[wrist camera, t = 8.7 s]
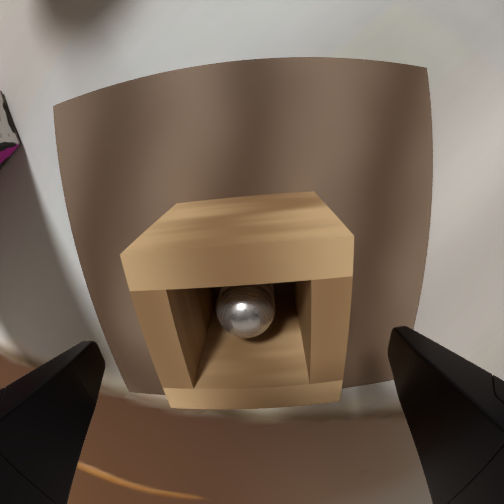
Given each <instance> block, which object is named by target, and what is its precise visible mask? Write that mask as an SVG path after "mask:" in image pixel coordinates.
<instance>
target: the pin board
mask: <svg viewBox="0 0 504 504" xmlns="http://www.w3.org/2000/svg"><path fill="white" fill-rule="evenodd" d="M53 110H54V124H55V135H56V144H57V152H58V160H59V167H60V173H61V180H62V186H63V191H64V197H65V202H66V207H67V212H68V216H69V221H70V225H71V230H72V234H73V238H74V242H75V246H76V250H77V253H78V257H79V261H80V264H81V268H82V271H83V274H84V278H85V281H86V284H87V287H88V290H89V293H90V297H91V300H92V302H93V305H94V308H95V311H96V314H97V317H98V319H99V322H100V325H101V327H102V330H103V333H104V335H105V338H106V340H107V343H108V345H109V348H110V350H111V353H112V355H113V357H114V360H115V362H116V364H117V367H118V369H119V371H120V373H121V375H122V378H123V380H124V382H125V384H126V386H127V388H128V390H129V392H135V393H146V394H159V395H165V392H164V390H163V387H162V385H161V382H160V380H159V377H158V374H157V372H156V369H155V366H154V364H153V361H152V358H151V356H150V353H149V350H148V347H147V344H146V341H145V338H144V336H143V333H142V330H141V326H140V323H139V320H138V317H137V314H136V311H135V307H134V304H133V301H132V297H131V294H130V290H129V287H128V283H127V280H126V276H125V272H124V268H123V265H122V261H121V257H120V254H121V253H122V252H123V251H124V250H125V249H126V248H127V247H128V246H129V245H130V244H132V243H133V242H134V241H135V240H136V239H137V238H138V237H139V236H140V235H141V234H142V233H144V232H145V231H146V230H147V229H148V228H149V227H150V226H151V225H152V224H154V223H155V222H156V221H157V220H158V219H159V218H160V217H162V216H163V215H164V214H165V213H166V212H167V211H168V210H170V209H171V208H172V207H173V206H174V205H175V204H177V203H185V202H194V201H203V200H213V199H223V198H233V197H244V196H256V195H268V194H282V193H296V192H312V191H314V192H315V193H316V194H317V195H318V196H319V197H320V198H321V200H322V201H323V202H324V203H325V204H326V205H327V206H328V207H329V208H330V209H331V210H332V211H333V213H334V214H335V215H336V216H337V217H338V218H339V219H340V220H341V221H342V223H343V224H344V225H345V226H346V227H347V228H348V229H349V230H350V232H351V233H352V234H353V235H354V259H353V280H352V297H351V310H350V322H349V333H348V342H347V351H346V360H345V368H344V376H343V383H342V388H347V387H354V386H361V385H367V384H373V383H378V382H384V381H389V380H394V378H393V374H392V370H391V366H390V362H389V359H388V345H389V340H390V335H391V331H392V329H393V328H394V327H399V326H407V327H409V328H411V329H413V328H414V324H415V319H416V315H417V310H418V305H419V300H420V294H421V289H422V283H423V277H424V270H425V263H426V256H427V248H428V239H429V229H430V217H431V203H432V180H433V139H432V117H431V103H430V92H429V82H428V74H427V68H424V67H419V66H413V65H406V64H399V63H392V62H384V61H374V60H363V59H349V58H325V57H291V58H267V59H253V60H242V61H232V62H223V63H216V64H208V65H202V66H195V67H190V68H184V69H178V70H173V71H168V72H164V73H159V74H154V75H150V76H146V77H142V78H138V79H134V80H130V81H126V82H123V83H119V84H116V85H112V86H109V87H106V88H102V89H99V90H96V91H93V92H90V93H87V94H84V95H81V96H78V97H76V98H73V99H70V100H67V101H65V102H62V103H60V104H57V105H55V106H53ZM214 293H215V299H218V300H217V305H216V313H217V318H218V320H219V322H220V324H221V326H222V327H223V328H224V329H225V330H226V331H227V332H228V333H230V334H231V335H233V336H236V337H239V338H252V337H255V336H258V335H260V334H262V333H263V332H264V331H265V330H267V328H268V327H269V326H270V324H271V323H272V321H273V318H274V314H275V301H274V296H278V295H290V294H294V291H293V282H281V283H268V284H254V285H239V286H224V287H214Z"/></svg>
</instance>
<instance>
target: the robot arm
mask: <svg viewBox="0 0 504 504" xmlns="http://www.w3.org/2000/svg"><path fill="white" fill-rule="evenodd" d="M388 359H389V362H390V366H391V370H392V374H393V378H394V382H395V386H396V390H397V393H398V397H399V400H400V403H401V406H402V409H403V411H404V414H405V417H406V420H407V422H408V425H409V428H410V431H411V434H412V437H413V440H414V443H415V446H416V448H417V452H418V455H419V458H420V461H421V464H422V468H423V471H424V474H425V477H426V480H427V484H428V488H429V491H430V495H431V498H432V502H433V504H504V381H503V380H501V379H500V378H498V377H496V376H494V375H493V376H492V374H491V373H489V372H487V371H485V370H484V369H482V368H480V367H478V366H477V365H475V364H473V363H471V362H470V361H468V360H466V359H464V358H463V357H461V356H459V355H457V354H455V353H454V352H452V351H450V350H448V349H447V348H445V347H443V346H441V345H439V344H438V343H436V342H434V341H432V340H431V339H429V338H427V337H425V336H423V335H422V334H420V333H418V332H416V331H414V330H413V329H411V328H409V327H407V326H399V327H394V328H393V329H392V331H391V335H390V340H389V345H388ZM104 370H105V361H104V358H103V356H102V354H101V352H100V349H99V347H98V345H97V343H96V342H94V341H83V342H81V343H79V344H78V345H76V346H74V347H72V348H71V349H69V350H67V351H66V352H64V353H62V354H60V355H59V356H57V357H55V358H54V359H52V360H50V361H48V362H47V363H45V364H43V365H42V366H40V367H38V368H36V369H35V370H33V371H31V372H30V373H28V374H26V375H25V376H23V377H21V378H20V379H18V380H16V381H14V382H13V383H11V384H9V385H8V386H6V388H2V389H1V390H0V504H67V501H68V497H69V493H70V489H71V485H72V482H73V478H74V474H75V471H76V467H77V464H78V460H79V457H80V453H81V450H82V447H83V443H84V440H85V437H86V434H87V431H88V428H89V424H90V422H91V419H92V416H93V413H94V409H95V406H96V403H97V399H98V394H99V390H100V386H101V382H102V378H103V374H104Z"/></svg>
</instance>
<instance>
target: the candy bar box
mask: <svg viewBox="0 0 504 504" xmlns="http://www.w3.org/2000/svg"><path fill="white" fill-rule="evenodd" d="M19 145H20V141H19V138H18V135H17V133H16V130H15V128H14V126H13V123H12V121H11V118H10V115H9V111H8V109H7V105H6V102H5V99H4V97H3V94H2V92H1V91H0V168H1V167H2V166H3V164H4V163H5V162H6V160H7V159H8V158H9V157H10V155H11V154H12V153H13V152H14V151H15V149H16V148H17V147H18V146H19Z"/></svg>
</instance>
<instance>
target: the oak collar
mask: <svg viewBox="0 0 504 504" xmlns="http://www.w3.org/2000/svg"><path fill="white" fill-rule="evenodd" d="M120 257H121V261H122V265H123V268H124V272H125V276H126V280H127V283H128V287H129V290H130V294H131V297H132V301H133V304H134V307H135V311H136V314H137V317H138V320H139V323H140V326H141V330H142V333H143V336H144V338H145V341H146V344H147V347H148V350H149V353H150V356H151V358H152V361H153V364H154V366H155V369H156V372H157V374H158V377H159V380H160V382H161V385H162V387H163V390H164V392H165V395H166V397H167V399H168V402H169V404H170V406H171V408H187V409H258V408H277V407H290V406H302V405H312V404H320V403H329V402H336V401H340V396H341V390H342V383H343V376H344V368H345V360H346V351H347V342H348V333H349V322H350V310H351V297H352V280H353V259H354V235H353V234H352V233H351V232H350V230H349V229H348V228H347V227H346V226H345V225H344V224H343V223H342V221H341V220H340V219H339V218H338V217H337V216H336V215H335V214H334V213H333V211H332V210H331V209H330V208H329V207H328V206H327V205H326V204H325V203H324V202H323V201H322V200H321V198H320V197H319V196H318V195H317V194H316V193H315V192H314V191H312V192H296V193H282V194H268V195H256V196H244V197H233V198H223V199H213V200H203V201H194V202H185V203H177V204H175V205H174V206H173V207H172V208H171V209H170V210H168V211H167V212H166V213H165V214H164V215H163V216H162V217H160V218H159V219H158V220H157V221H156V222H155V223H154V224H152V225H151V226H150V227H149V228H148V229H147V230H146V231H145V232H144V233H142V234H141V235H140V236H139V237H138V238H137V239H136V240H135V241H134V242H133V243H132V244H130V245H129V246H128V247H127V248H126V249H125V250H124V251H123V252H122V253H121V254H120ZM281 282H293V291H294V294H290V295H278V296H274V301H275V314H274V318H273V321H272V323H271V324H270V326H269V327H268V328H267V330H265V331H264V332H263V333H262V334H260V335H258V336H255V337H252V338H239V337H236V336H233V335H231V334H230V333H228V332H227V331H226V330H225V329H224V328H223V327H222V326H221V324H220V322H219V320H218V318H217V313H216V305H217V300H218V299H215V293H214V287H224V286H239V285H254V284H268V283H281Z"/></svg>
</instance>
